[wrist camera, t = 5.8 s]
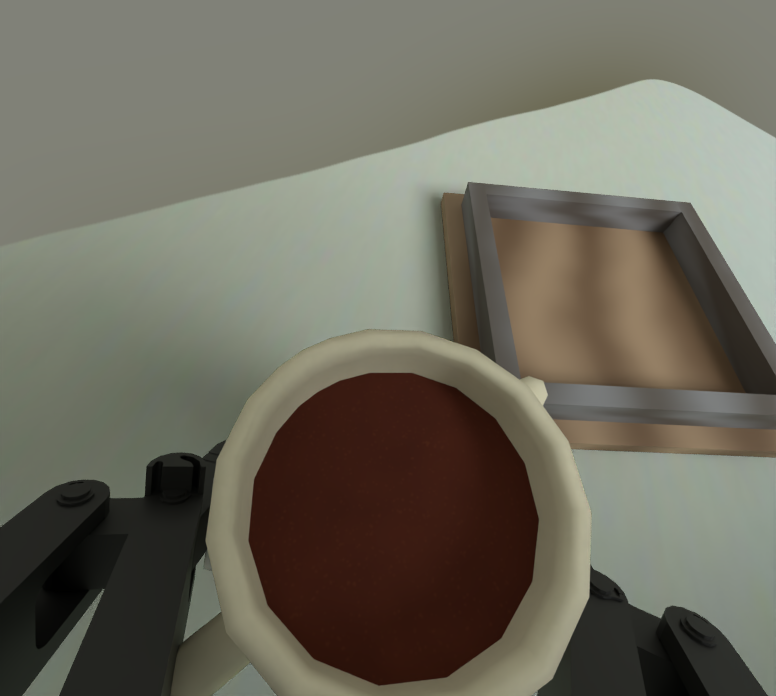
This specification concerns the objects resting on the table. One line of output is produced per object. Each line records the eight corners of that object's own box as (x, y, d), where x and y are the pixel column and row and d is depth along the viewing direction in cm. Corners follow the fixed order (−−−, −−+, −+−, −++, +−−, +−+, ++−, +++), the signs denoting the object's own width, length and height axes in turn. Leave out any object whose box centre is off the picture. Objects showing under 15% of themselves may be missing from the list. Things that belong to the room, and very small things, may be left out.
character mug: (408, 421, 22) (477, 249, 10) (500, 533, 19) (720, 463, 8) (222, 557, 17) (8, 511, 6) (308, 725, 15) (204, 1146, 4)
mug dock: (672, 223, 33) (699, 193, 31) (799, 458, 23) (856, 442, 20) (441, 203, 32) (449, 169, 29) (463, 444, 21) (479, 425, 19)
